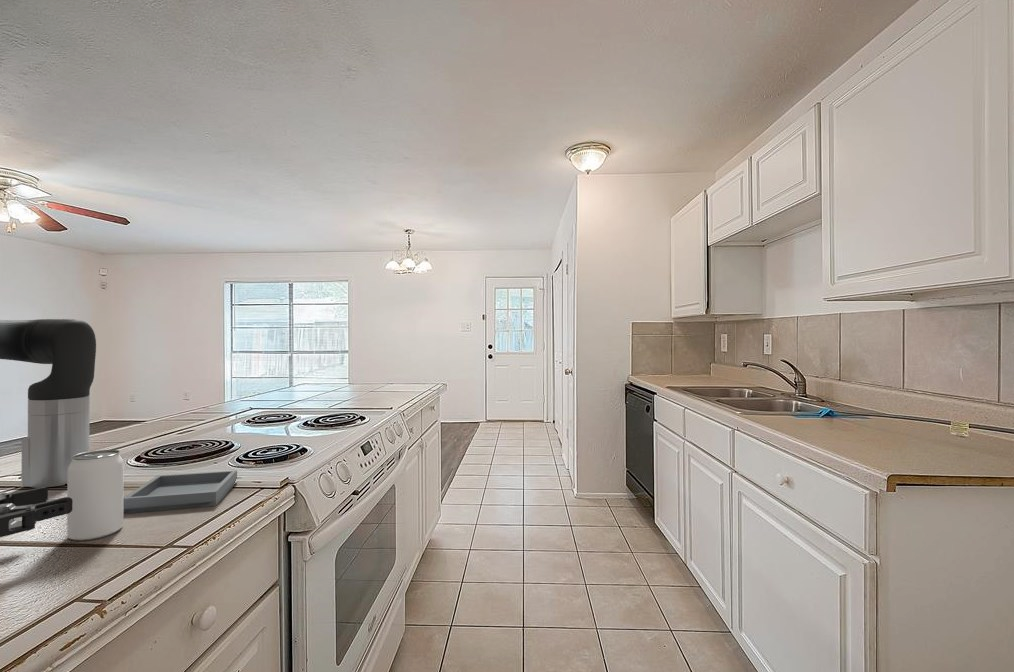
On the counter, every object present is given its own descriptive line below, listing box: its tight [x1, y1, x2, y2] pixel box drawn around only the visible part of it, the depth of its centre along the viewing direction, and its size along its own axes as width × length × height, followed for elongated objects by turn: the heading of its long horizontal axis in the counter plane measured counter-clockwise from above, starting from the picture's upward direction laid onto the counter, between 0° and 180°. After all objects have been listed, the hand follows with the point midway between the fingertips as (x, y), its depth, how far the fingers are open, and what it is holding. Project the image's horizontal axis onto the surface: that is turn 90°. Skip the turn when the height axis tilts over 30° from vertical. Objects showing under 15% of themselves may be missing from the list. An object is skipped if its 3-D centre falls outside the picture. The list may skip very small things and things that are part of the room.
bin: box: [123, 469, 238, 515], centre depth 89 cm, size 14×14×2 cm
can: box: [66, 449, 124, 542], centre depth 73 cm, size 6×6×12 cm
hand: (58, 498), depth 69 cm, fingers open, 8 cm apart
